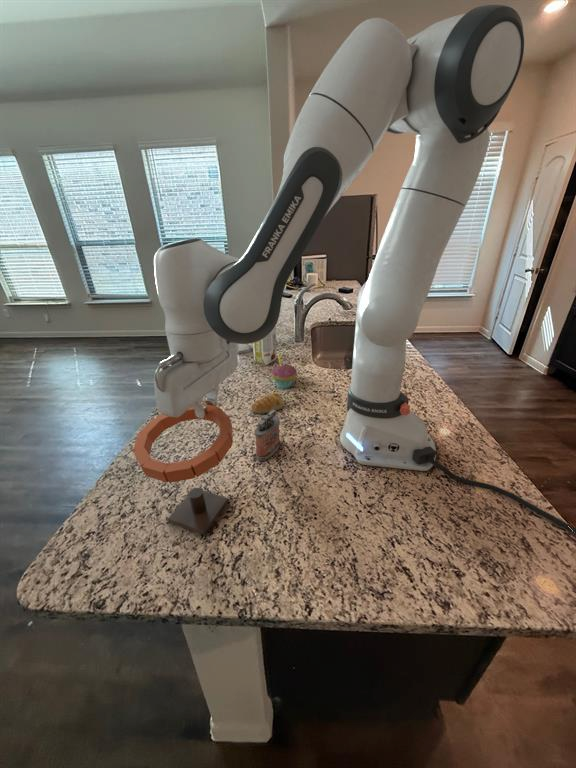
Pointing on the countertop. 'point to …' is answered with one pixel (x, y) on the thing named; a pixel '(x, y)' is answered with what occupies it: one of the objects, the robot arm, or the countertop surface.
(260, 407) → the pastry
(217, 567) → the countertop surface
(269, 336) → the juice carton
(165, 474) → the ring
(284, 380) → the cupcake
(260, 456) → the lighter
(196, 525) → the peg stand
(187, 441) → the countertop surface
